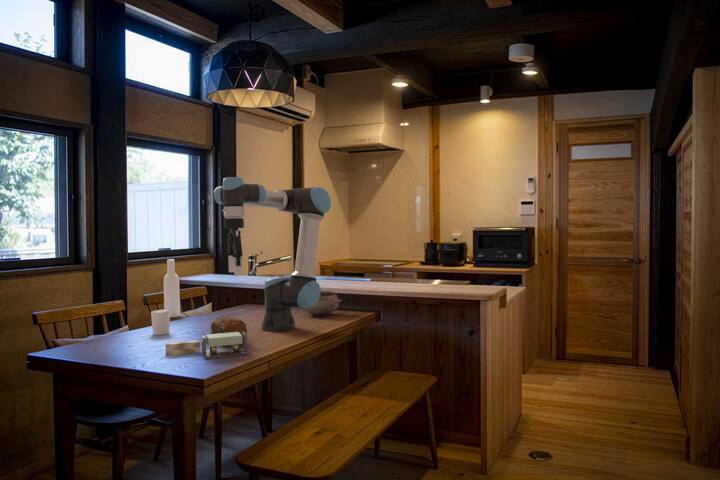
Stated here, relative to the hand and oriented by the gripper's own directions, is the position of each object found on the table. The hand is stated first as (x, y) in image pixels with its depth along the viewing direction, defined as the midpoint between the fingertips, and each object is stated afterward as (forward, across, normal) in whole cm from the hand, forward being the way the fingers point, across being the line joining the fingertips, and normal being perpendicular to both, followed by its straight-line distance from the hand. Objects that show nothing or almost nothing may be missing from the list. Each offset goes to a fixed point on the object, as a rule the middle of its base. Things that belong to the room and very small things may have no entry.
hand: (235, 273), depth 222 cm
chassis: (+29, +8, -6) cm, 31 cm away
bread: (+29, -14, -1) cm, 32 cm away
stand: (+29, 0, -20) cm, 35 cm away
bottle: (+29, -96, -18) cm, 101 cm away
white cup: (+29, -46, -26) cm, 60 cm away
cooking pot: (+29, -60, +52) cm, 84 cm away
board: (+25, +8, -6) cm, 27 cm away
